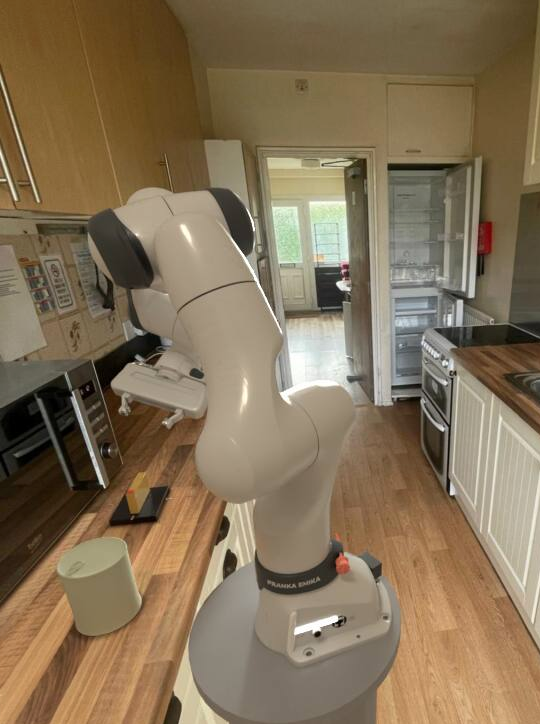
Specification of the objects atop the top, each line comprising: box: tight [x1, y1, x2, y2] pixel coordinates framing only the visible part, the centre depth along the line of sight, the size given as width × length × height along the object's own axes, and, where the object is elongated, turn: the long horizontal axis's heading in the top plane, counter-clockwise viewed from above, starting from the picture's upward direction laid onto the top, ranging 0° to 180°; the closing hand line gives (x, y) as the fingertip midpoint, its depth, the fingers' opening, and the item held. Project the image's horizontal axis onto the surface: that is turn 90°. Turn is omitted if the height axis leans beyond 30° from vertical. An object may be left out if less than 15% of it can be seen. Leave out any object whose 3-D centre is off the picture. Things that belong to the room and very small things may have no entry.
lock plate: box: [107, 485, 174, 527], centre depth 95 cm, size 13×13×2 cm
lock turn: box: [125, 471, 151, 514], centre depth 94 cm, size 9×2×5 cm, turn 13°
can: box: [55, 536, 143, 637], centre depth 67 cm, size 9×9×12 cm
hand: (143, 420), depth 92 cm, fingers open, 8 cm apart
